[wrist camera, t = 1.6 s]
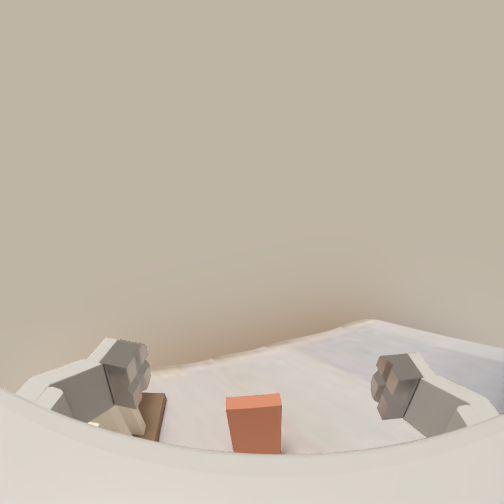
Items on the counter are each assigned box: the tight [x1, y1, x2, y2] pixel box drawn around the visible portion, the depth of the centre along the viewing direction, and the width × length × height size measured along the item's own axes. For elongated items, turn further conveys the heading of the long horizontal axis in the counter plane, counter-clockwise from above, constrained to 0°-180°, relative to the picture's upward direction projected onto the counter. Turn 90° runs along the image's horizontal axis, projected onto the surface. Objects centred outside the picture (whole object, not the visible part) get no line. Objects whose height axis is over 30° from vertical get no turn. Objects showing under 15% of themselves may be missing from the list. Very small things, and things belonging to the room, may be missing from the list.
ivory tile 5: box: [117, 406, 146, 435], centre depth 28 cm, size 2×5×10 cm, turn 94°
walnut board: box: [132, 393, 166, 442], centre depth 24 cm, size 8×26×1 cm, turn 4°
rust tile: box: [226, 393, 282, 454], centre depth 26 cm, size 2×5×10 cm, turn 93°
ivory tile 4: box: [90, 405, 132, 436], centre depth 24 cm, size 2×5×10 cm, turn 94°
